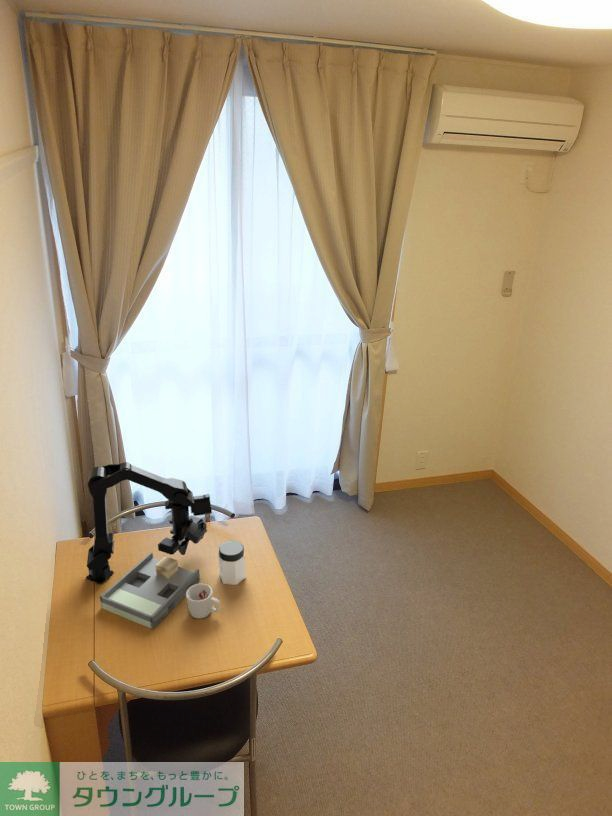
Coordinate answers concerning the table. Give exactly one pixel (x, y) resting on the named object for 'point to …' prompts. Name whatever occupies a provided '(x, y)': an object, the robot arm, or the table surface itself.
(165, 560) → the maple block
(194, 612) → the cup
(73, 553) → the table surface
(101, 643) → the table surface
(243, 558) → the jar
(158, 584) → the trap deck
